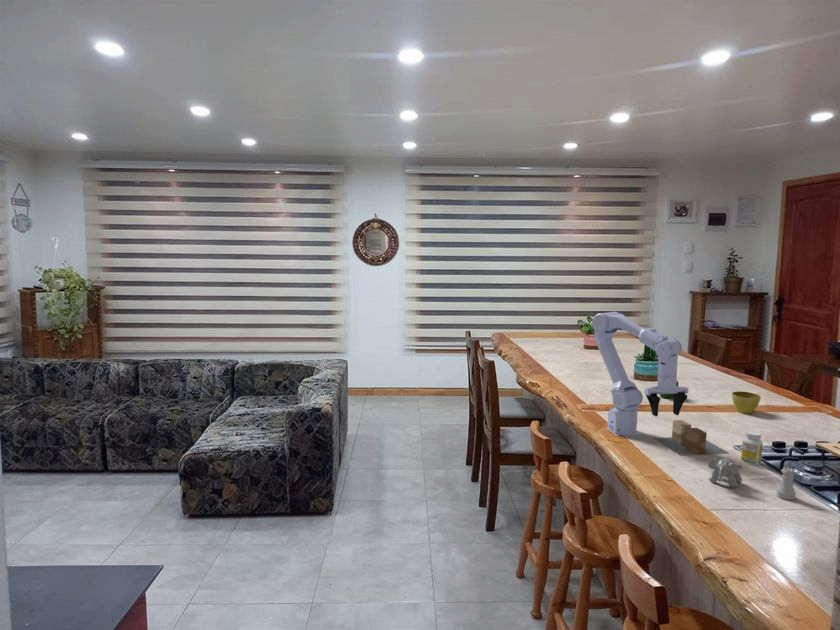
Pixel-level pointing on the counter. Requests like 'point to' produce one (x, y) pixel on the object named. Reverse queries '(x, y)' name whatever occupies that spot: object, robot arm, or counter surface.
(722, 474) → the elephant statuette
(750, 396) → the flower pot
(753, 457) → the supplement bottle
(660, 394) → the bell pepper
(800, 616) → the counter surface
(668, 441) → the mat
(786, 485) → the rook chess piece
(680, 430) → the beech block
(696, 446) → the walnut block
